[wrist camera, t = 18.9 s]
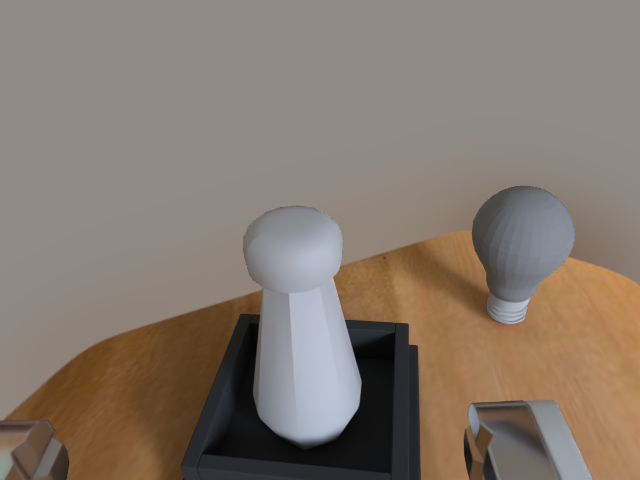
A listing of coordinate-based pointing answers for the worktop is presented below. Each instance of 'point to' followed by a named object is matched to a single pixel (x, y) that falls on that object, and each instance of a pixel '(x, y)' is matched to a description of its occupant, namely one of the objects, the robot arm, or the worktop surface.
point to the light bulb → (520, 246)
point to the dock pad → (328, 459)
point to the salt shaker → (301, 327)
